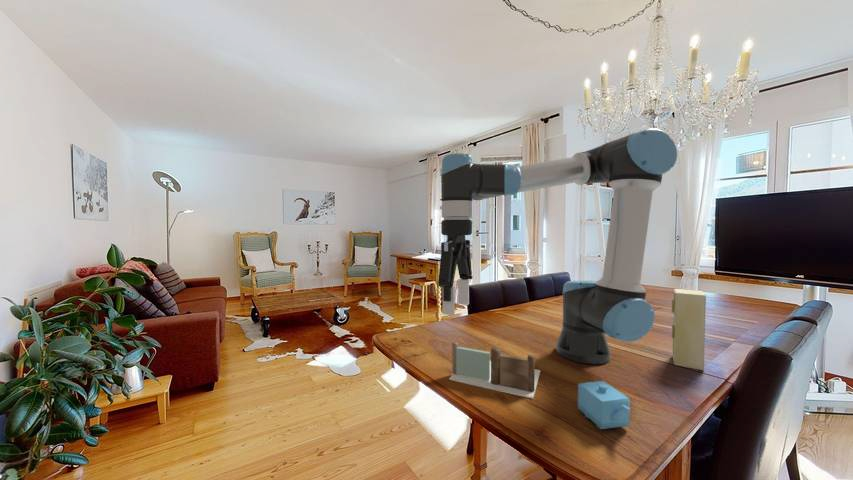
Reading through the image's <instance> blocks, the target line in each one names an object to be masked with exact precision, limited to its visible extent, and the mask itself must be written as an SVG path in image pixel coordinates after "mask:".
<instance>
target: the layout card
mask: <svg viewBox="0 0 853 480" xmlns="http://www.w3.org/2000/svg"><path fill="white" fill-rule="evenodd" d="M540 375H541V370H540V369H535V382H534V392H531V391H528V390H524V389H519V388H515V387H510V386H505V385H501V384H498V385H494V384H492V383H491V360H490V379H489V381H488V380H483V379H479V378H474V377H469V376H465V375H460V374H454V373H452V374H451V375H450V377H449V379H448V380H449V381H454V382H458V383H462V384H466V385H471V386H476V387H479V388H483V389H488V390H493V391H496V392H502V393H506V394H510V395H515V396H518V397H519V396H520V397H523V398H528V399H533V400H534V397H535V394H536V389H537V386H538V382H539V378H540Z"/></svg>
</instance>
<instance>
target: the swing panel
mask: <svg viewBox="0 0 853 480" xmlns="http://www.w3.org/2000/svg"><path fill="white" fill-rule="evenodd" d="M451 347H452V348H451V351H452V352H451V353H452V359H451V362H452V363H451V366H452V367H451V369H452V370H451V371H452V374H453V373H454V374H460V375H465V376H469V377H474V378H479V379H483V380H488V381H489V379H490V361H491V351H486V350H479V349H473V348H469V347H463V346H459V342H456V341H453V342H452V345H451Z"/></svg>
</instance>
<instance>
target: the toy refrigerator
mask: <svg viewBox="0 0 853 480" xmlns="http://www.w3.org/2000/svg"><path fill="white" fill-rule="evenodd" d="M706 304H707V295H706V294H705V293H704V292H703V291H702V290H696V289H695V290H694V289H684V288H674V289H673V298H672V299H671V313H673V314H672V315H673V317H672V318H673V319H672V320H673V321H672V323H673V324H672V325H671V339H672V360H673V361H672V362H673V364H674V366H678V367H683V368H687V369H693V370H700V371H705V352H706V351H705V345H706V308H707V305H706Z"/></svg>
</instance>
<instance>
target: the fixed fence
mask: <svg viewBox="0 0 853 480" xmlns="http://www.w3.org/2000/svg"><path fill="white" fill-rule="evenodd" d="M535 360H536V356H535V355H533V354H528V355H527V358H525V357H521V356H515V355H508V354H502V351H501V348H499V347H492V348H491V349H490V361H491V383H492V384H494V385H498V384H501V385H505V386H510V387H515V388H519V389H524V390H528V391H531V392H534V382H535V367H536V366H535V365H536V364H535V363H536V361H535Z"/></svg>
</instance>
